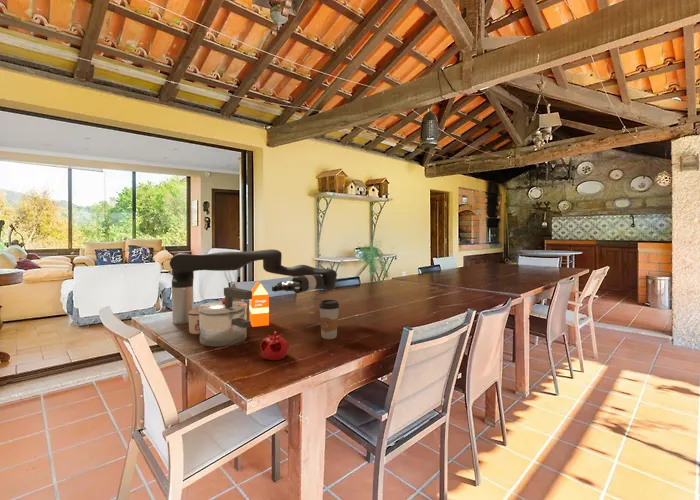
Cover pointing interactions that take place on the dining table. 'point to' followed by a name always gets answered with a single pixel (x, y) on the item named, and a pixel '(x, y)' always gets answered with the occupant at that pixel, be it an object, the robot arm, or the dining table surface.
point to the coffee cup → (329, 318)
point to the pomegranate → (274, 347)
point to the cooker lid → (227, 302)
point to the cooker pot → (223, 328)
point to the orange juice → (259, 306)
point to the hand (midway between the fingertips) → (273, 288)
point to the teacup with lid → (194, 321)
